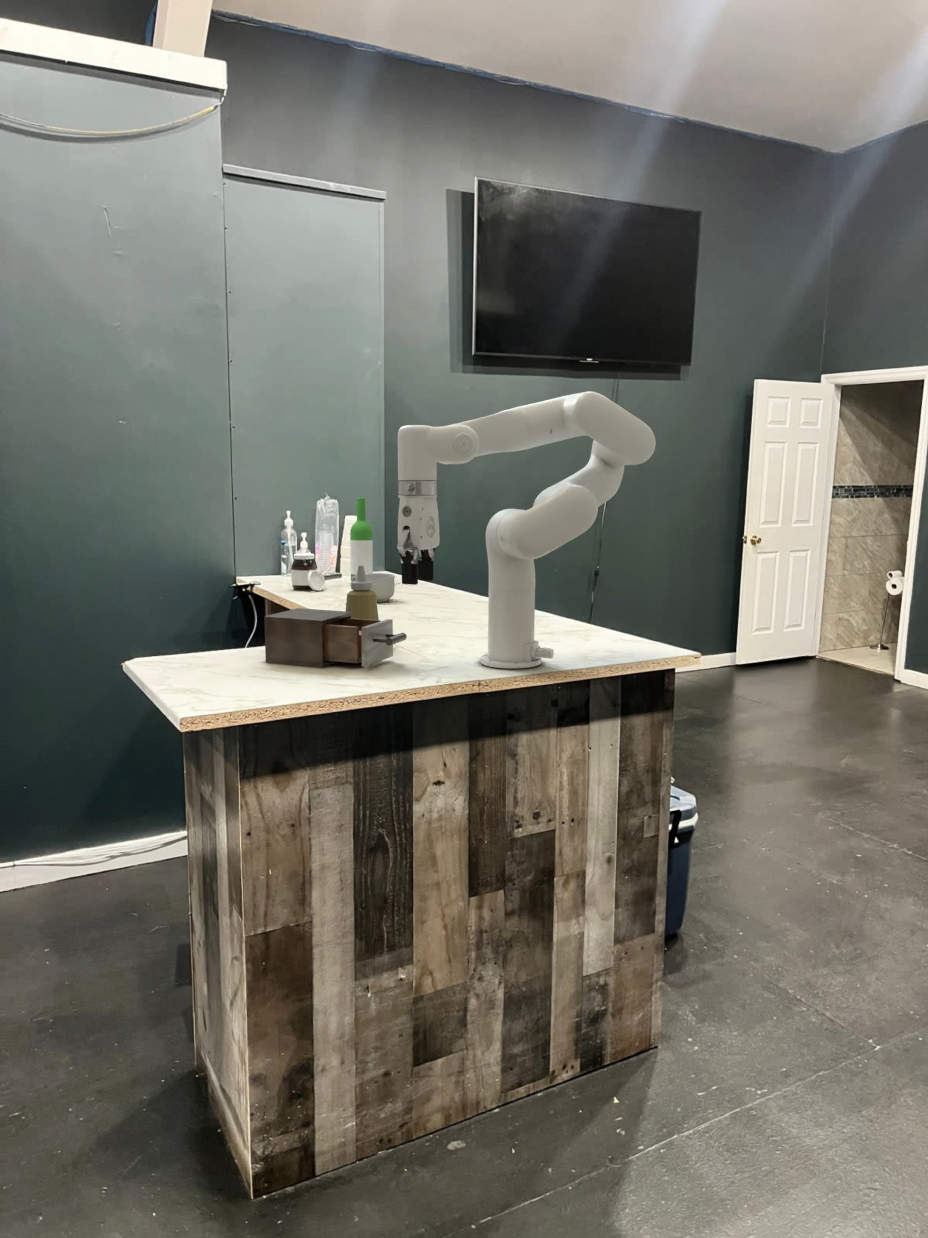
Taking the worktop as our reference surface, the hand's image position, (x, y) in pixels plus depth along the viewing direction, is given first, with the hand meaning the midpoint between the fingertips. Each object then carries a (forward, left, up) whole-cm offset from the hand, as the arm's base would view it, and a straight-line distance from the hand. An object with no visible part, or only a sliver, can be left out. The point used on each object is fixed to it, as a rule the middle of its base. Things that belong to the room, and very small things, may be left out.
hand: (417, 581), depth 181 cm
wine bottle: (+79, -122, -18) cm, 146 cm away
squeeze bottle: (+23, -19, -18) cm, 35 cm away
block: (+13, 0, -16) cm, 21 cm away
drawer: (+12, 0, -17) cm, 21 cm away
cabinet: (+25, 0, -18) cm, 31 cm away
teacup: (+55, -85, -18) cm, 103 cm away
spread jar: (+87, -100, -18) cm, 134 cm away
